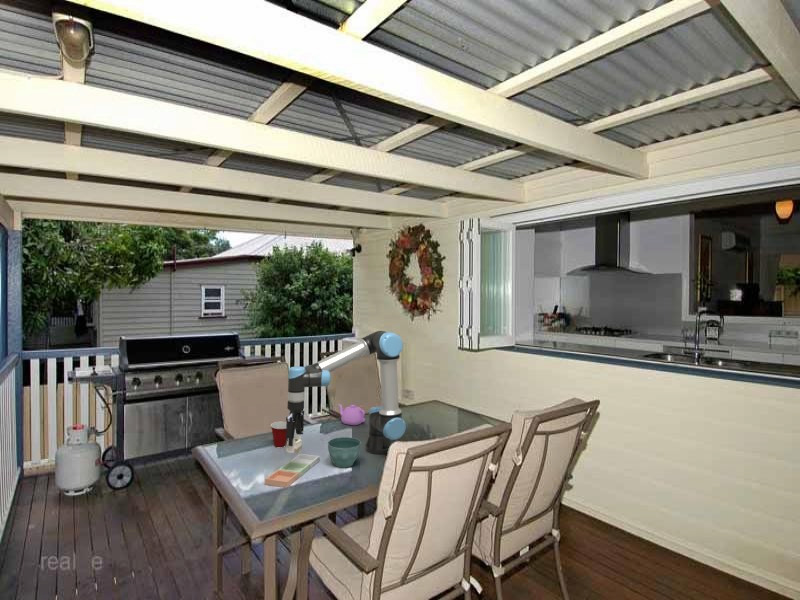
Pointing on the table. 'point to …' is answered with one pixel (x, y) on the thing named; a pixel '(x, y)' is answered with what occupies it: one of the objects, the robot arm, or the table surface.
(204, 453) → the table surface
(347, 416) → the teapot
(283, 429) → the plastic cup
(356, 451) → the flower pot
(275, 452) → the table surface
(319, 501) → the table surface
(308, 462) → the box grey
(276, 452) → the table surface
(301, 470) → the box sage
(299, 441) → the letter cube
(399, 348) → the robot arm
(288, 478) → the box terracotta
